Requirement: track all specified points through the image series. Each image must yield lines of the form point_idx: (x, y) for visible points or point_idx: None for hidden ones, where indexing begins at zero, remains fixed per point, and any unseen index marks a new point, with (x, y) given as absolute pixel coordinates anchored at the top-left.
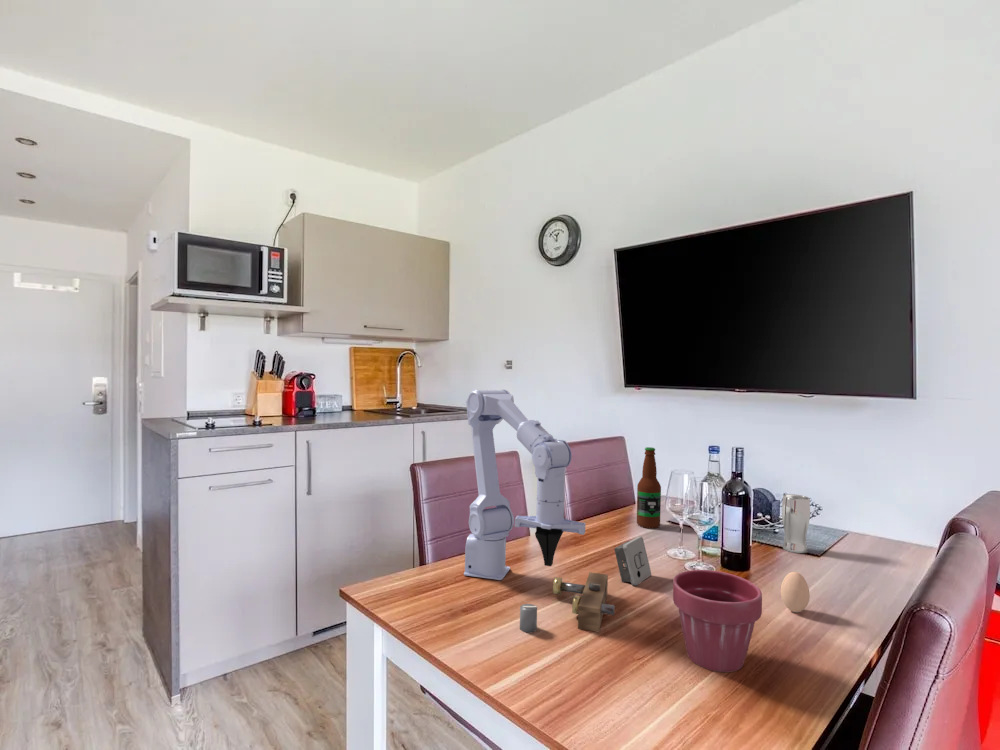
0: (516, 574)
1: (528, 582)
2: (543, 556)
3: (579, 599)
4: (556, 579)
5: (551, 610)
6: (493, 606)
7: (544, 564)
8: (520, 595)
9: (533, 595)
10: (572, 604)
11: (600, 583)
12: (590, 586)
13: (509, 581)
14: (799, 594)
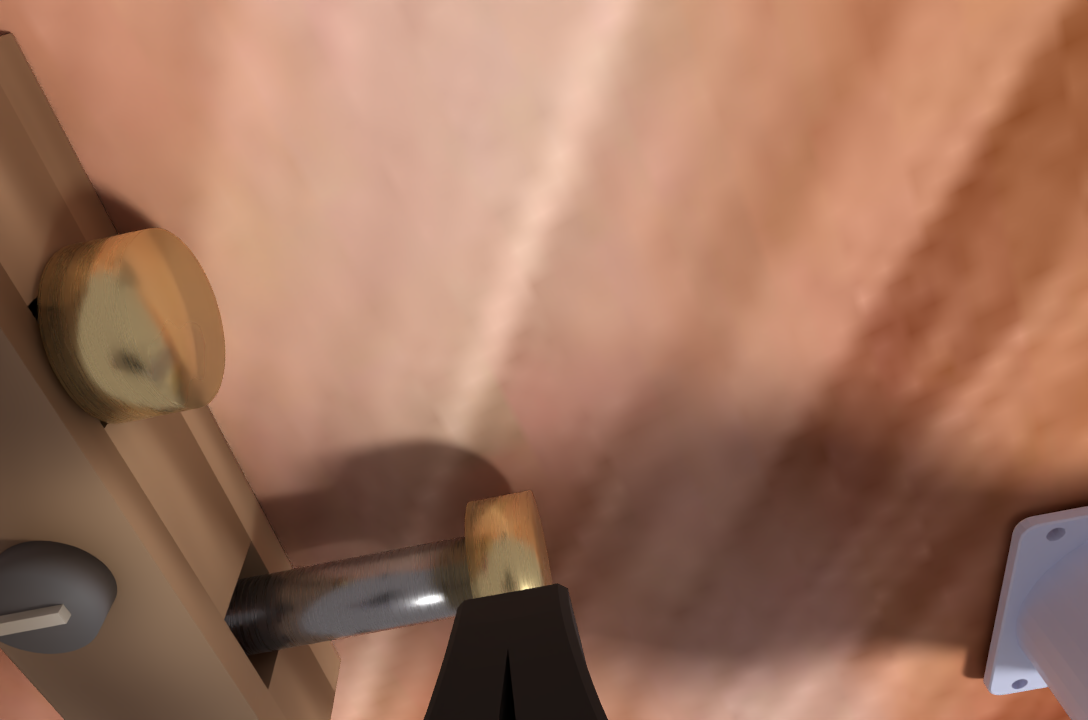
0: (918, 641)
1: (800, 585)
2: (593, 707)
3: (52, 333)
4: None
5: (440, 263)
6: (999, 49)
7: (567, 597)
8: (799, 381)
9: (694, 431)
10: (127, 257)
11: (95, 694)
12: (48, 576)
13: (947, 537)
14: None
